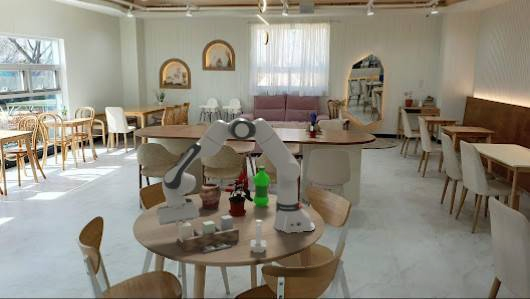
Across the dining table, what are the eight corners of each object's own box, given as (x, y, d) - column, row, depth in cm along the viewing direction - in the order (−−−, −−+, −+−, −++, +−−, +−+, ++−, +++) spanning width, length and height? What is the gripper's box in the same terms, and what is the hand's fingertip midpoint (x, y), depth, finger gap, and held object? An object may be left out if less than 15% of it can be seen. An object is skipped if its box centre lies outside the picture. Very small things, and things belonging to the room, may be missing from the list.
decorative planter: (209, 200, 260) (209, 179, 257) (226, 202, 256) (226, 181, 253) (195, 209, 241) (194, 187, 238) (213, 212, 237) (213, 189, 235)
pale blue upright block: (229, 229, 207) (229, 215, 206) (232, 232, 204) (232, 217, 202) (220, 231, 205) (220, 216, 203) (223, 234, 201) (223, 219, 200)
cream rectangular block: (188, 237, 196) (188, 222, 195) (191, 240, 193) (191, 225, 191) (179, 239, 194) (178, 224, 192) (181, 242, 190) (181, 227, 189)
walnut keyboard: (228, 231, 210) (228, 221, 208) (244, 244, 194) (244, 233, 193) (176, 241, 196) (176, 231, 195) (189, 256, 180) (189, 245, 179)
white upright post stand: (266, 246, 193) (266, 216, 190) (265, 255, 183) (266, 224, 180) (251, 245, 193) (251, 216, 190) (250, 254, 183) (250, 223, 180)
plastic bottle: (249, 206, 249) (250, 167, 245) (259, 201, 258) (260, 164, 253) (262, 209, 244) (263, 169, 239) (272, 205, 252) (273, 166, 247)
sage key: (212, 235, 199) (211, 220, 198) (215, 238, 196) (215, 223, 194) (202, 237, 197) (202, 222, 195) (205, 240, 193) (205, 225, 192)
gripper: (156, 204, 195) (162, 230, 188) (196, 198, 205) (203, 223, 198) (154, 210, 199) (160, 235, 193) (193, 204, 209) (200, 228, 203)
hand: (182, 229), depth 196 cm, fingers closed
